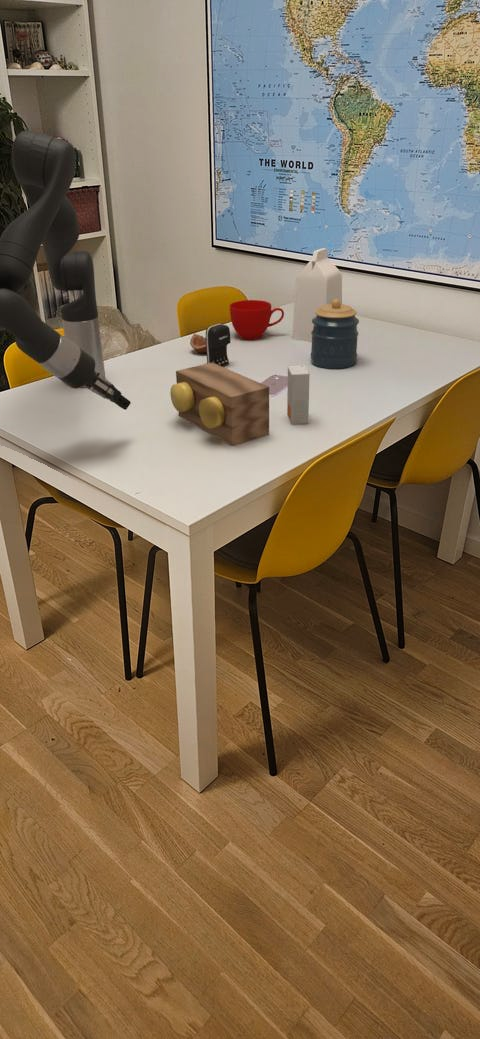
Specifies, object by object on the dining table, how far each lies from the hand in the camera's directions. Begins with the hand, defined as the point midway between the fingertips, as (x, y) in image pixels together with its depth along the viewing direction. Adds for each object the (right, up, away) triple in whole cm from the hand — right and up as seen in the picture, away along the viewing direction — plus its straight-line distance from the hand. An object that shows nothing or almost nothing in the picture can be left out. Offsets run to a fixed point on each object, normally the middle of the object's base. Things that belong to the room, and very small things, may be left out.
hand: (126, 405), depth 154 cm
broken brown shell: (+14, +25, +59) cm, 66 cm away
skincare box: (+38, -2, +12) cm, 40 cm away
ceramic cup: (+30, +33, +73) cm, 85 cm away
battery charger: (+19, +18, +48) cm, 54 cm away
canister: (+51, +20, +49) cm, 73 cm away
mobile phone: (+33, +10, +33) cm, 48 cm away
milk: (+49, +33, +71) cm, 92 cm away
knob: (+16, +2, +13) cm, 21 cm away
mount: (+19, -3, +9) cm, 22 cm away
